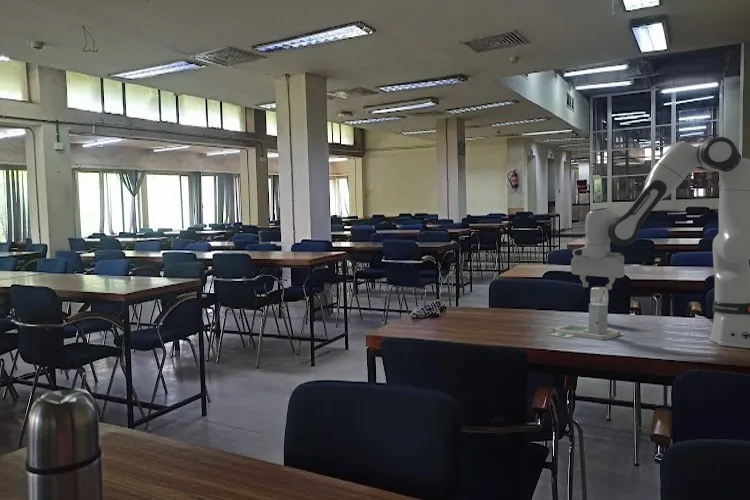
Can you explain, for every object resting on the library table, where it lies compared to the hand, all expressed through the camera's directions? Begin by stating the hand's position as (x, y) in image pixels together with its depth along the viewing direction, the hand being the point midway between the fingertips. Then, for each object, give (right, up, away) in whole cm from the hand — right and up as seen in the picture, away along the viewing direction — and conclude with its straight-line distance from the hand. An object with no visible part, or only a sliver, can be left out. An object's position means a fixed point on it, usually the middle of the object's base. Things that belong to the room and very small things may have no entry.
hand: (597, 288), depth 223 cm
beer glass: (+10, -17, +23) cm, 30 cm away
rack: (-4, -18, +3) cm, 19 cm away
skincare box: (+1, -18, +1) cm, 18 cm away
